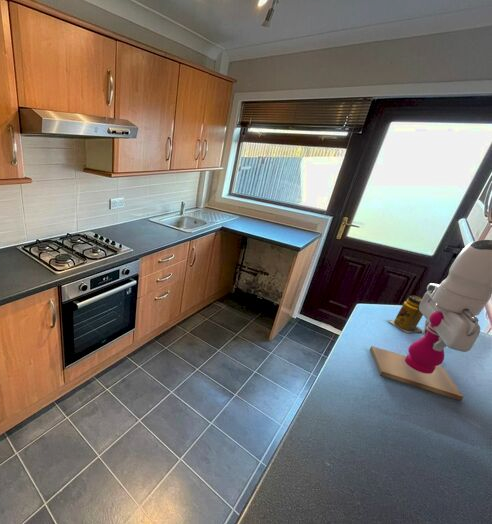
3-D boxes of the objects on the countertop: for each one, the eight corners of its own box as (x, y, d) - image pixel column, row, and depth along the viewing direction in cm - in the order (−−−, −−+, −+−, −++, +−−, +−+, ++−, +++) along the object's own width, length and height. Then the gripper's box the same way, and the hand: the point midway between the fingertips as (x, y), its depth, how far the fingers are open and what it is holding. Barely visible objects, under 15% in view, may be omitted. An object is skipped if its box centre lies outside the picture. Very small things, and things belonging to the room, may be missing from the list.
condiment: (387, 320, 107) (401, 294, 102) (405, 319, 108) (420, 293, 103) (406, 333, 101) (422, 305, 95) (425, 332, 102) (442, 304, 97)
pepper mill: (403, 353, 86) (434, 297, 78) (435, 366, 81) (472, 309, 73) (401, 364, 81) (433, 307, 73) (434, 379, 77) (474, 320, 68)
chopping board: (440, 370, 85) (443, 366, 84) (460, 400, 75) (463, 396, 74) (369, 349, 91) (371, 345, 91) (379, 375, 81) (381, 371, 81)
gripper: (499, 326, 62) (465, 372, 68) (454, 286, 79) (430, 325, 85) (462, 318, 65) (432, 362, 71) (426, 281, 82) (404, 319, 88)
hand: (430, 342), depth 78 cm, fingers closed on pepper mill, 5 cm apart
